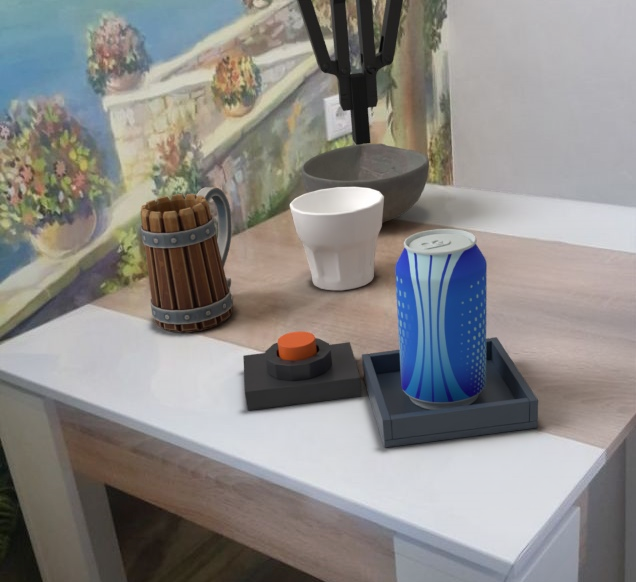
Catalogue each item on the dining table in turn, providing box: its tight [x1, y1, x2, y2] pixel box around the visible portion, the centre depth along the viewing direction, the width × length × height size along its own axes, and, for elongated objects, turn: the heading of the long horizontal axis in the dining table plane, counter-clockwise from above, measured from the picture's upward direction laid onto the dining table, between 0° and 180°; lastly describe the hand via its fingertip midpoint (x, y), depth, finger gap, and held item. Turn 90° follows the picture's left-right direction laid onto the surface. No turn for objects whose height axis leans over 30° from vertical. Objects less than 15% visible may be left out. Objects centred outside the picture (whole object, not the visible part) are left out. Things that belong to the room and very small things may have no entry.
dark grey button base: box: [243, 337, 363, 411], centre depth 94 cm, size 12×9×4 cm
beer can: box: [394, 228, 488, 410], centre depth 85 cm, size 8×8×16 cm
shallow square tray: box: [361, 336, 539, 448], centre depth 88 cm, size 15×15×3 cm
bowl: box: [300, 143, 430, 224], centre depth 140 cm, size 20×20×10 cm
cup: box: [289, 187, 384, 292], centre depth 119 cm, size 12×12×11 cm
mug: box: [139, 186, 234, 333], centre depth 113 cm, size 16×11×15 cm
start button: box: [277, 330, 317, 361], centre depth 93 cm, size 4×4×2 cm
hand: (361, 141), depth 93 cm, fingers closed
